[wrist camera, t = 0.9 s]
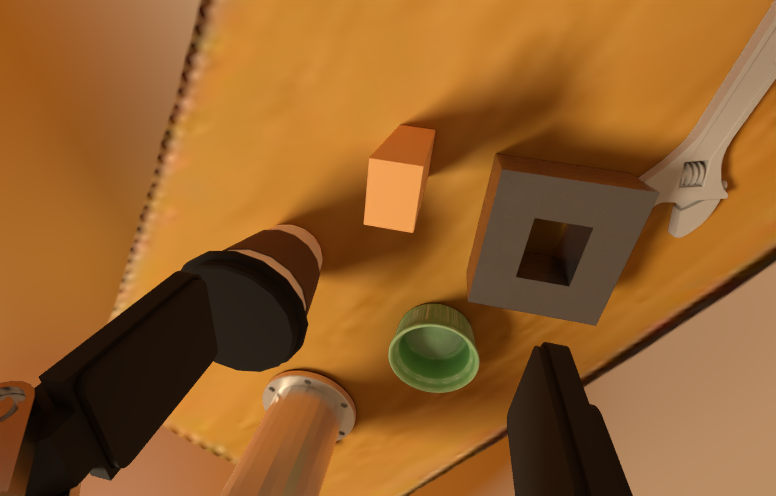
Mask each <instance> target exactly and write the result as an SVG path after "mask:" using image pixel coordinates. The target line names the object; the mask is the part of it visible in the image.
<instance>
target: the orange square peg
mask: <svg viewBox="0 0 776 496" xmlns="http://www.w3.org/2000/svg"><path fill="white" fill-rule="evenodd" d="M435 131H436V130H434V129H427V128H420V127H413V126H405V125H399V126H398V128H397V129H396V130H395V131H394V132H393V133H392V134H391V135H390V136H389V137H388V138H387V139H386V141H385V142H384V143H383V144H382V145H381V146H380V147H379V148H378V149H377V150H376V151H375V152H374V153H373V155H372V156H371V157H370V158H369V166H368V178H367V190H366V202H365V215H364V225H369V226H375V227H381V228H387V229H393V230H399V231H404V232H410V233H413V232H414V228H415V224H416V220H417V217H418V213H419V209H420V205H421V202H422V198H423V194H424V190H425V186H426V183H427V179H428V174H429V168H430V162H431V156H432V150H433V143H434V137H435Z"/></svg>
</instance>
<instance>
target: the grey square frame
mask: <svg viewBox="0 0 776 496" xmlns="http://www.w3.org/2000/svg"><path fill="white" fill-rule="evenodd" d="M659 194H660V193H659V192H658V191H656V190H655V189H653V188H652V187H650V186H649V185H647V184H646V183H644V182H643V181H641V180H640V179H638V178H636V177H635V176H633V175H632V174H630V173H626V172H619V171H612V170H605V169H598V168H591V167H584V166H578V165H571V164H564V163H557V162H550V161H543V160H536V159H530V158H523V157H516V156H509V155H502V154H495V158H494V162H493V166H492V170H491V174H490V179H489V183H488V187H487V191H486V195H485V199H484V203H483V207H482V211H481V215H480V219H479V223H478V227H477V231H476V235H475V239H474V244H473V248H472V252H471V256H470V260H469V264H468V268H467V298H468V302H473V303H478V304H483V305H488V306H494V307H499V308H504V309H510V310H515V311H520V312H526V313H531V314H536V315H542V316H547V317H552V318H558V319H563V320H568V321H574V322H579V323H584V324H590V325H595V326H596V324H597V322H598V320H599V318H600V316H601V314H602V312H603V310H604V308H605V306H606V304H607V302H608V300H609V298H610V296H611V293H612V291H613V289H614V287H615V285H616V283H617V281H618V279H619V277H620V275H621V273H622V271H623V269H624V267H625V265H626V262H627V260H628V258H629V256H630V254H631V252H632V250H633V248H634V246H635V244H636V242H637V240H638V238H639V236H640V234H641V231H642V229H643V227H644V225H645V223H646V221H647V219H648V217H649V215H650V213H651V211H652V209H653V207H654V205H655V203H656V200H657V198H658V196H659ZM535 218H537V219H543V220H550V221H556V222H562V223H567V225H566V228H565V231H564V233H563V236H562V239H561V241H560V244H559V247H558V249H557V252H556V255H555V257H552V256H546V255H540V254H534V253H528V252H524V250H525V247H526V244H527V240H528V237H529V234H530V231H531V228H532V225H533V222H534V219H535Z"/></svg>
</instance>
